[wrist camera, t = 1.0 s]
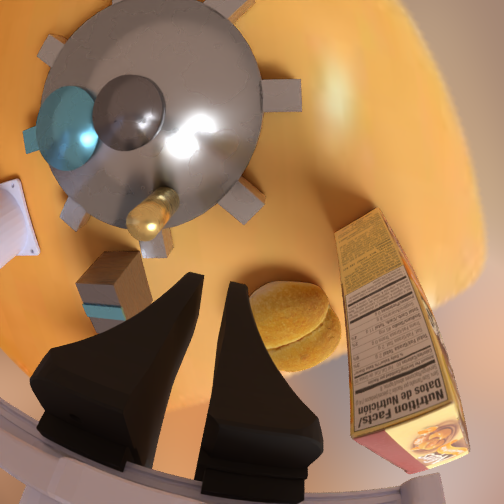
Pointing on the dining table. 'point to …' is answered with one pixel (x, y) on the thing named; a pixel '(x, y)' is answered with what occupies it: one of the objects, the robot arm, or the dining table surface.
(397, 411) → the candy box
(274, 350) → the bread roll
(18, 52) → the dining table surface
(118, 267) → the marked link block
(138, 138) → the sprocket disc
